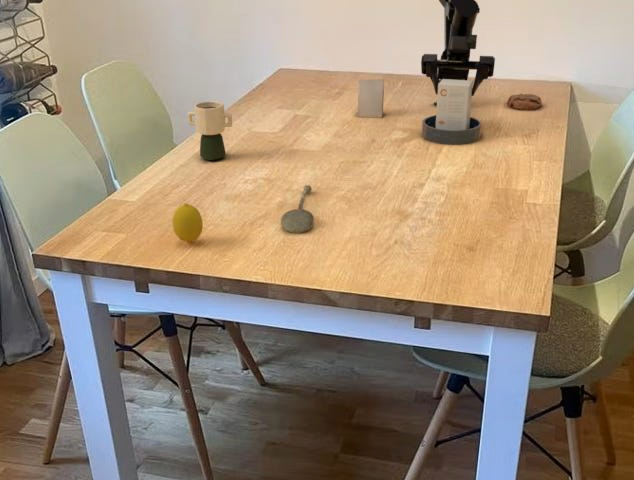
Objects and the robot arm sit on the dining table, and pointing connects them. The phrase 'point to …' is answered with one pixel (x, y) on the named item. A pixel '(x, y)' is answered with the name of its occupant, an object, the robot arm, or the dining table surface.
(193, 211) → the lemon
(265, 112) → the dining table surface
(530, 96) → the cookie
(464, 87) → the small box
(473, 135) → the dish
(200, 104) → the character mug
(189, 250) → the dining table surface
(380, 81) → the grey rectangular block
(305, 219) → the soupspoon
